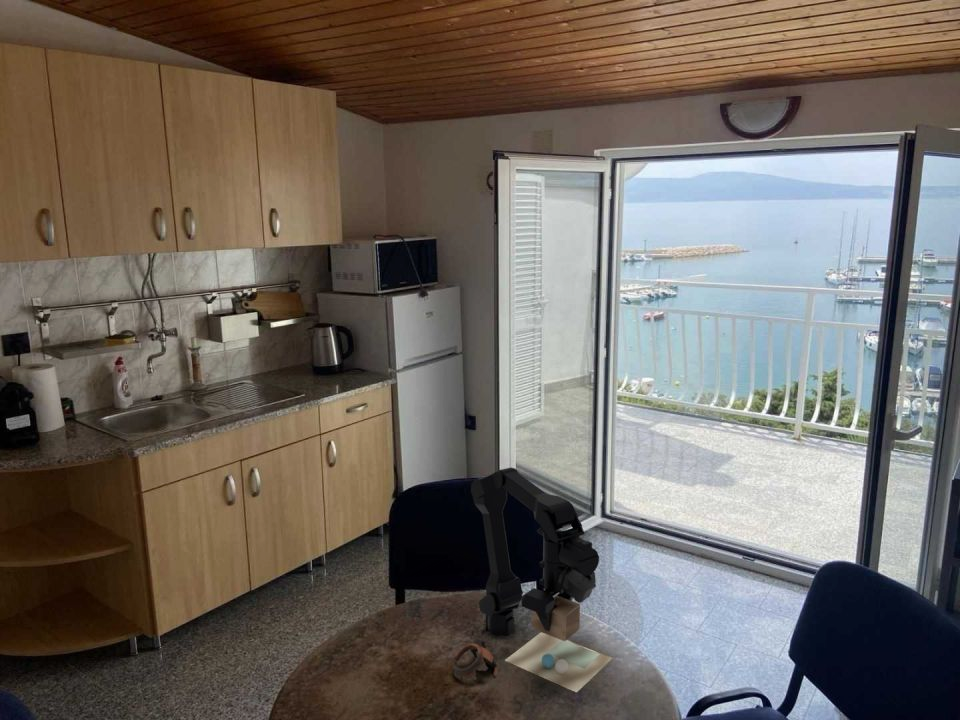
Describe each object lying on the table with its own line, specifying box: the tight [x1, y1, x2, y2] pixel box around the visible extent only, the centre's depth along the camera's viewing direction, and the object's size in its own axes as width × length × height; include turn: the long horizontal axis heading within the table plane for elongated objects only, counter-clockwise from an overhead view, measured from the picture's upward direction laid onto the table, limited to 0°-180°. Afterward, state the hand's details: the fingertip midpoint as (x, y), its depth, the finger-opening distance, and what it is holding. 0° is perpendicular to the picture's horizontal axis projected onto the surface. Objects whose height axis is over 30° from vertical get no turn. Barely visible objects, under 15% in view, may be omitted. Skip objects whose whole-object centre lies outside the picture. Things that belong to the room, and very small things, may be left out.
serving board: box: [504, 632, 613, 693], centre depth 162 cm, size 19×16×1 cm
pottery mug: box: [451, 637, 499, 681], centre depth 158 cm, size 12×10×8 cm
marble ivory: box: [555, 659, 569, 674], centre depth 156 cm, size 3×3×3 cm
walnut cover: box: [531, 596, 581, 641], centre depth 155 cm, size 9×6×7 cm
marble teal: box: [541, 654, 555, 668], centre depth 158 cm, size 3×3×3 cm
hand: (555, 624), depth 156 cm, fingers closed on walnut cover, 6 cm apart
